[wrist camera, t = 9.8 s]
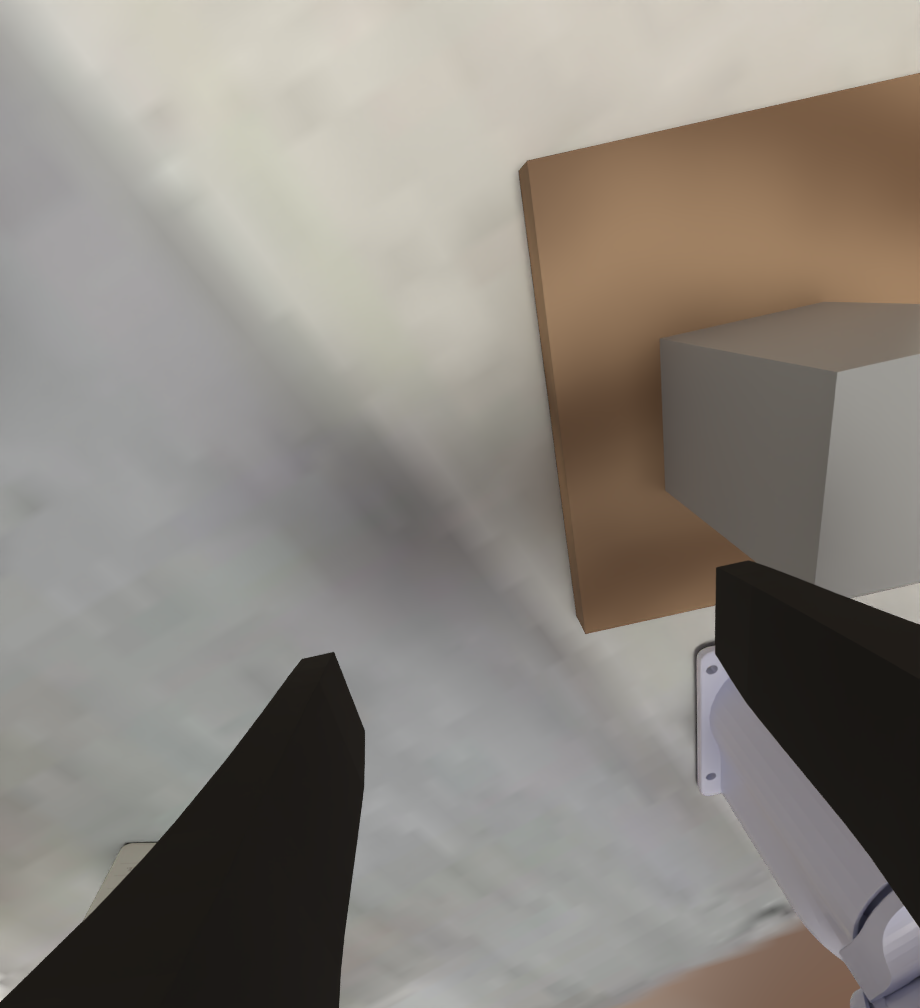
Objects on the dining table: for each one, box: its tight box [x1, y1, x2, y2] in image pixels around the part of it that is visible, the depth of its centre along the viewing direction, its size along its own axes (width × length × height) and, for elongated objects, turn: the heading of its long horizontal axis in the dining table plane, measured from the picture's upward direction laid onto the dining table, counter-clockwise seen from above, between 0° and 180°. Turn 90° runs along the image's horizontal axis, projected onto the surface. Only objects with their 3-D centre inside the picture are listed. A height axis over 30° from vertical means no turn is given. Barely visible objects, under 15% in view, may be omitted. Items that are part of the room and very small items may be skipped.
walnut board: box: [519, 73, 920, 634], centre depth 17 cm, size 16×12×1 cm
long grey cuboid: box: [660, 302, 920, 598], centre depth 13 cm, size 5×5×7 cm
